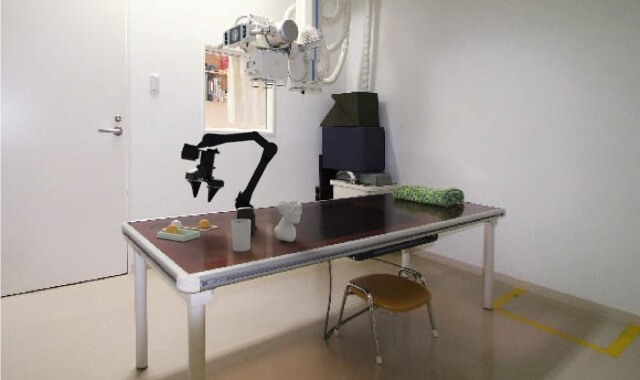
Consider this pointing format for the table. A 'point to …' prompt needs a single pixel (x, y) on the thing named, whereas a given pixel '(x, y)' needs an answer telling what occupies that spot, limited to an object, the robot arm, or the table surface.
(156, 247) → the table surface
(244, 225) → the drinking glass
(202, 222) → the orange ball
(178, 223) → the white ball
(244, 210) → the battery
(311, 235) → the table surface
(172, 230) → the orange ball
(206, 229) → the collar
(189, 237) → the green dish
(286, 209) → the white figurine
